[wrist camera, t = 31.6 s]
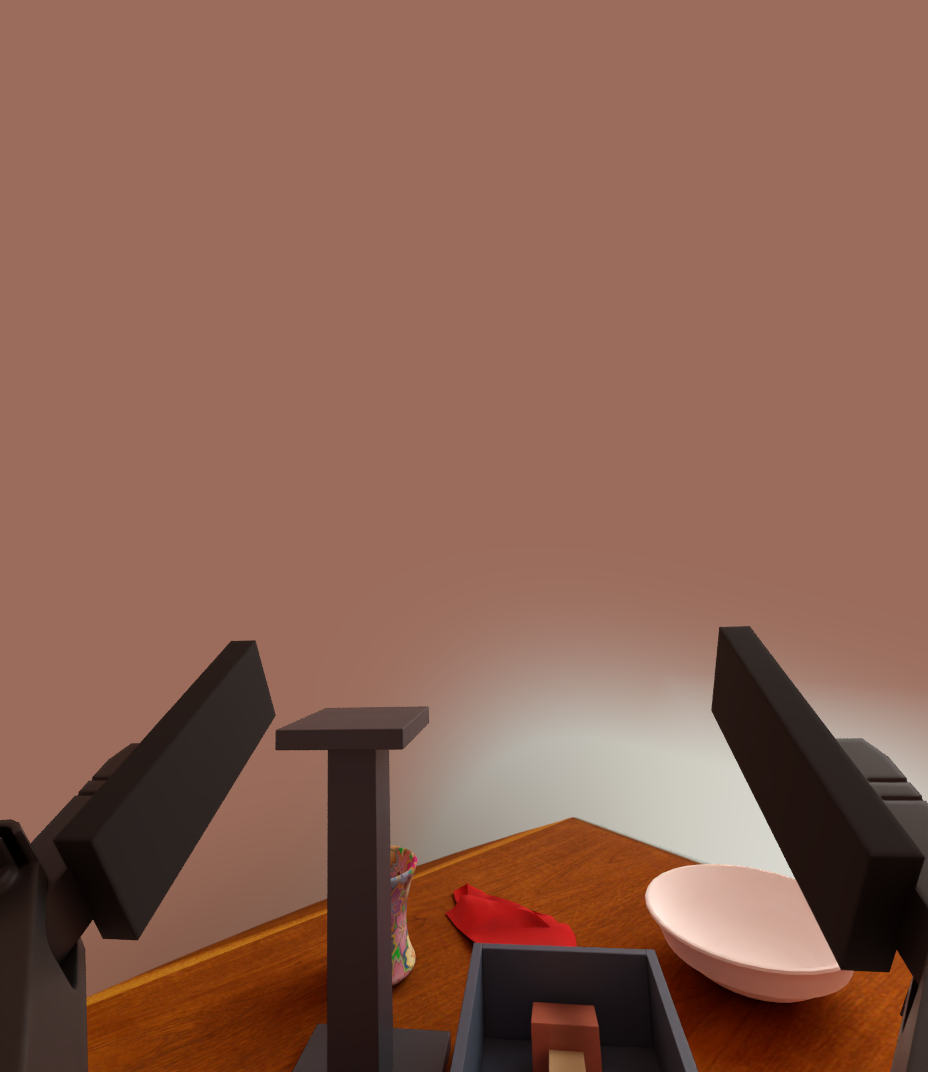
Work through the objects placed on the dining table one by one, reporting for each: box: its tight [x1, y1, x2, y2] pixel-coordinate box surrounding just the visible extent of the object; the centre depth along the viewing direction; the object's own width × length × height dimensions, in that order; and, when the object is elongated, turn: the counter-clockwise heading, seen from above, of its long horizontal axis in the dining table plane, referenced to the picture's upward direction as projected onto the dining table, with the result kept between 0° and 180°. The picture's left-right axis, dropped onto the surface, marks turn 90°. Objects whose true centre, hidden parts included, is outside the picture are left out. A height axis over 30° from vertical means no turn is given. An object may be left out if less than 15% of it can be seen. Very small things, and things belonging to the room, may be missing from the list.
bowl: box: [645, 864, 854, 1003], centre depth 54 cm, size 20×20×6 cm
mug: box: [390, 845, 417, 986], centre depth 56 cm, size 12×9×11 cm
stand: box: [275, 707, 451, 1072], centre depth 43 cm, size 12×12×28 cm
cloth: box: [446, 883, 576, 947], centre depth 61 cm, size 26×14×2 cm, turn 9°
